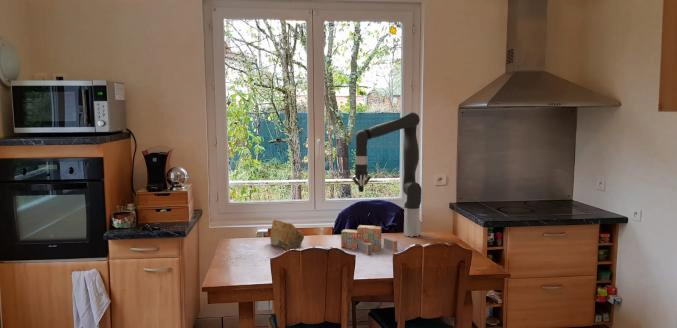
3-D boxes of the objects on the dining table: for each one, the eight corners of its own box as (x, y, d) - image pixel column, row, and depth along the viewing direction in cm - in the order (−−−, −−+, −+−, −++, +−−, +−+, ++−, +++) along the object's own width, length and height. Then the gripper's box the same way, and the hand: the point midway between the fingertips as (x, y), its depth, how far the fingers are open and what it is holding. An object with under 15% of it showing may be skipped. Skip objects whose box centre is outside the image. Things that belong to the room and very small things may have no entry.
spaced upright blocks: (386, 246, 254) (386, 236, 253) (397, 250, 245) (397, 240, 244) (358, 250, 245) (358, 240, 245) (368, 254, 237) (368, 244, 236)
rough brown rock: (310, 251, 246) (312, 223, 246) (281, 252, 238) (283, 224, 238) (294, 243, 266) (296, 217, 266) (267, 243, 259) (269, 217, 259)
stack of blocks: (340, 248, 250) (340, 226, 249) (343, 245, 256) (344, 223, 255) (379, 251, 244) (379, 228, 243) (381, 248, 250) (381, 226, 249)
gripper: (354, 164, 270) (354, 193, 271) (373, 163, 276) (373, 191, 277) (348, 163, 276) (348, 191, 278) (367, 162, 282) (367, 190, 284)
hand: (361, 191), depth 277 cm, fingers closed
